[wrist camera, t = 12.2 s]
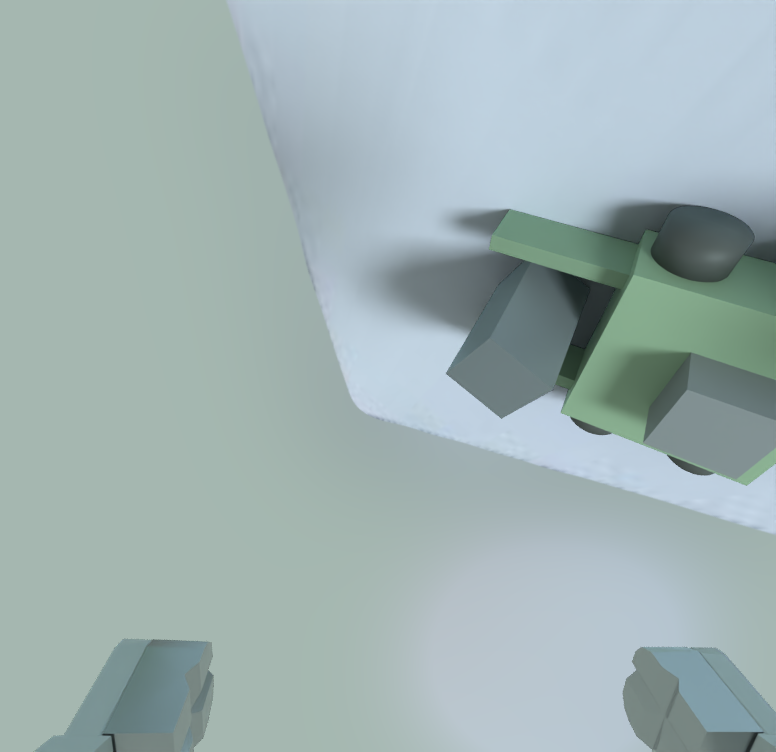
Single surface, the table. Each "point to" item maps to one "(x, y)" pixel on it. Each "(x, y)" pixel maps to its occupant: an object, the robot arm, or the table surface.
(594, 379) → the green toy forklift
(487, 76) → the table surface
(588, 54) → the table surface
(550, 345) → the tall gray column
